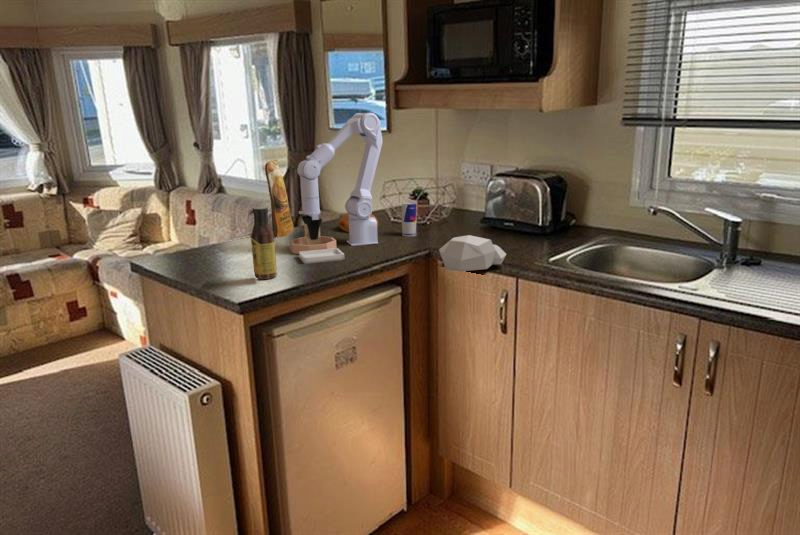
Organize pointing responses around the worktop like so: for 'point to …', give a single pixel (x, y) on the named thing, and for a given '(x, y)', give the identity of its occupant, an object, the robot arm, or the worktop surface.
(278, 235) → the pancake mix bag
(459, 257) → the rock
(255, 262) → the sauce bottle
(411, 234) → the energy drink
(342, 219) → the croissant
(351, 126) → the robot arm
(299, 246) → the pinkish-brown octagonal ring
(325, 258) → the tray
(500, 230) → the worktop surface
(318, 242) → the beech peg
